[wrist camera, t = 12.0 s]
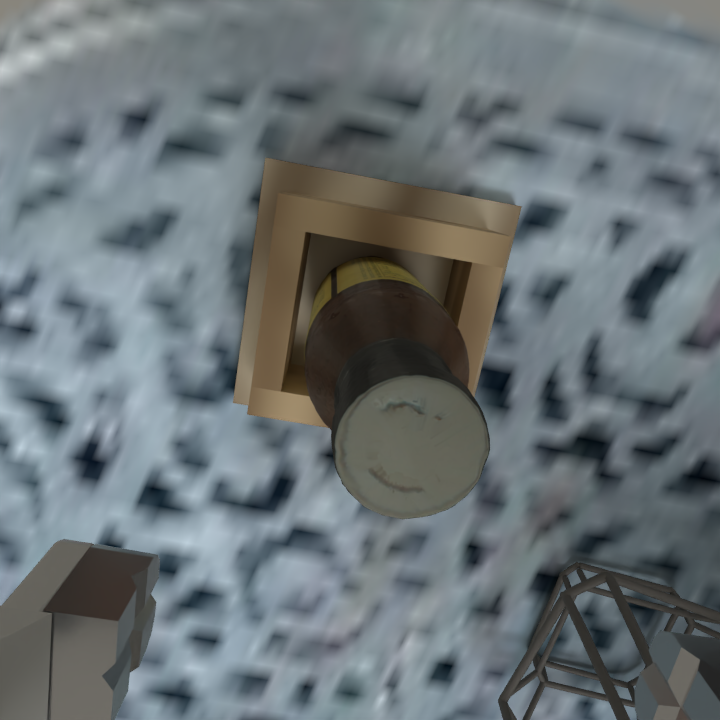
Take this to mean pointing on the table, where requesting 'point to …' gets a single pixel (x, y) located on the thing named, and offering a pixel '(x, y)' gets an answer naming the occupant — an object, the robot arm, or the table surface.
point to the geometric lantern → (570, 608)
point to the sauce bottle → (393, 390)
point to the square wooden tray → (353, 240)
